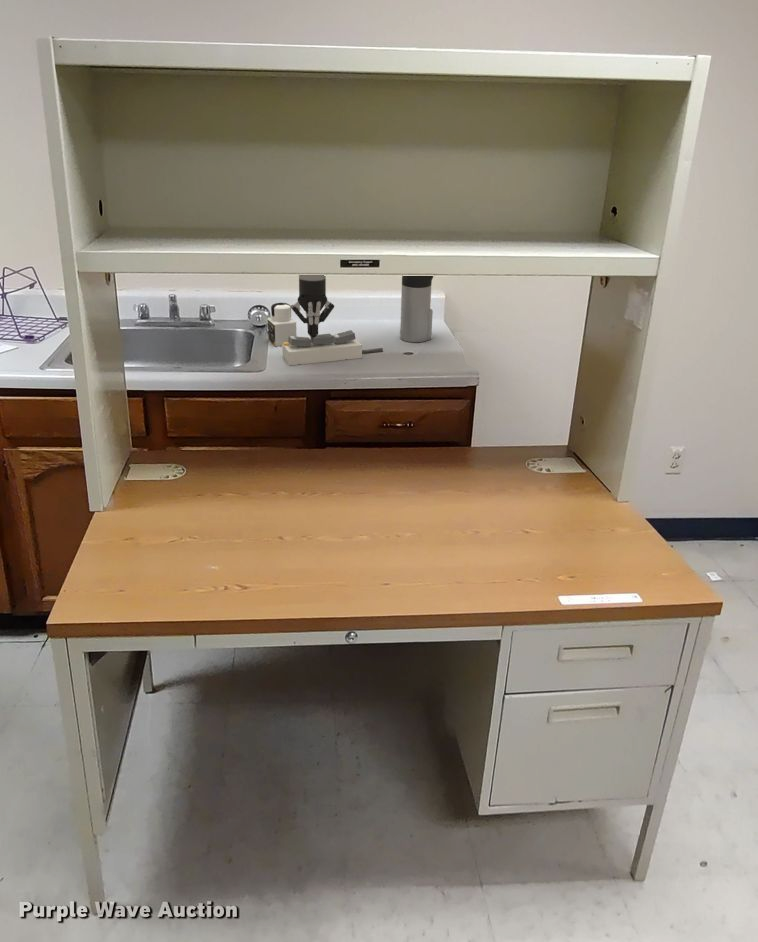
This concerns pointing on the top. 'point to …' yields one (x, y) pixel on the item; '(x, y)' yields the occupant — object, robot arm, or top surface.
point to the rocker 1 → (299, 341)
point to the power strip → (323, 352)
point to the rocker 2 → (344, 337)
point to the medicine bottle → (280, 324)
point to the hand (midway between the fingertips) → (312, 336)
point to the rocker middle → (322, 339)
